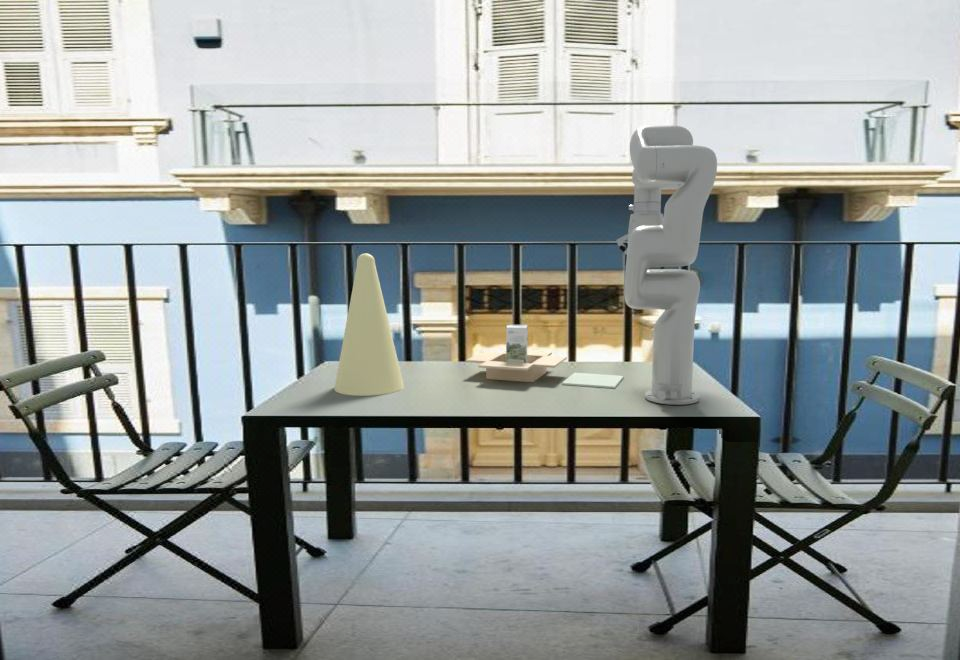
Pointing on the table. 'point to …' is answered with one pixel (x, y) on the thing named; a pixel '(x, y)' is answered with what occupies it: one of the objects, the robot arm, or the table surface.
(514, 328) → the syrup box
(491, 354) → the kraft carton
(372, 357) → the cone light
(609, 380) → the sage rubber mat
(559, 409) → the table surface
